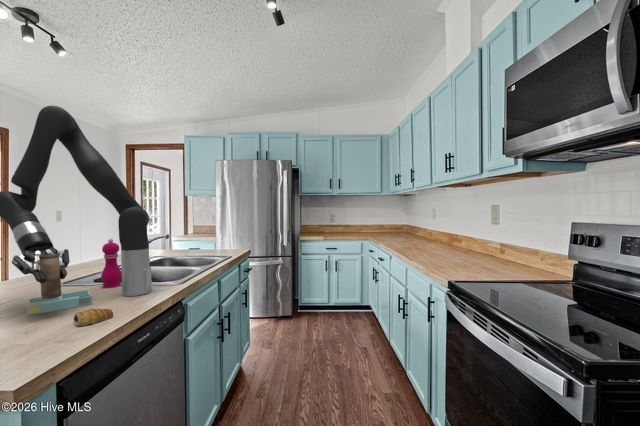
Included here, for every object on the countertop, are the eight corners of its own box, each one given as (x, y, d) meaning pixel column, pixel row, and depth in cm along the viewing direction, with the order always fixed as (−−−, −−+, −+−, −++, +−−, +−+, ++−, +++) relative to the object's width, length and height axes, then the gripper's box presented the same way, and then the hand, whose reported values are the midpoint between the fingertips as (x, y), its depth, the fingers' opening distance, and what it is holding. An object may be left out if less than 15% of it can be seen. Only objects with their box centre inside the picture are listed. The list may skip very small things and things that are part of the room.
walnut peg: (64, 293, 96) (62, 253, 95) (55, 298, 91) (53, 255, 91) (47, 295, 95) (45, 254, 94) (37, 299, 90) (35, 256, 90)
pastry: (108, 313, 95) (108, 302, 95) (117, 318, 91) (116, 306, 91) (71, 323, 88) (70, 310, 88) (78, 329, 84) (78, 315, 84)
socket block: (88, 297, 112) (88, 288, 112) (91, 304, 104) (91, 294, 104) (28, 308, 101) (28, 298, 101) (26, 316, 93) (26, 305, 93)
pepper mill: (99, 289, 123) (98, 240, 123) (103, 285, 130) (101, 238, 129) (121, 286, 127) (119, 239, 126) (123, 282, 133) (121, 237, 133)
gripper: (5, 233, 89) (26, 277, 84) (63, 228, 102) (84, 266, 97) (-2, 250, 92) (19, 293, 87) (56, 243, 105) (76, 281, 100)
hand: (53, 279), depth 92 cm, fingers closed on walnut peg, 4 cm apart
